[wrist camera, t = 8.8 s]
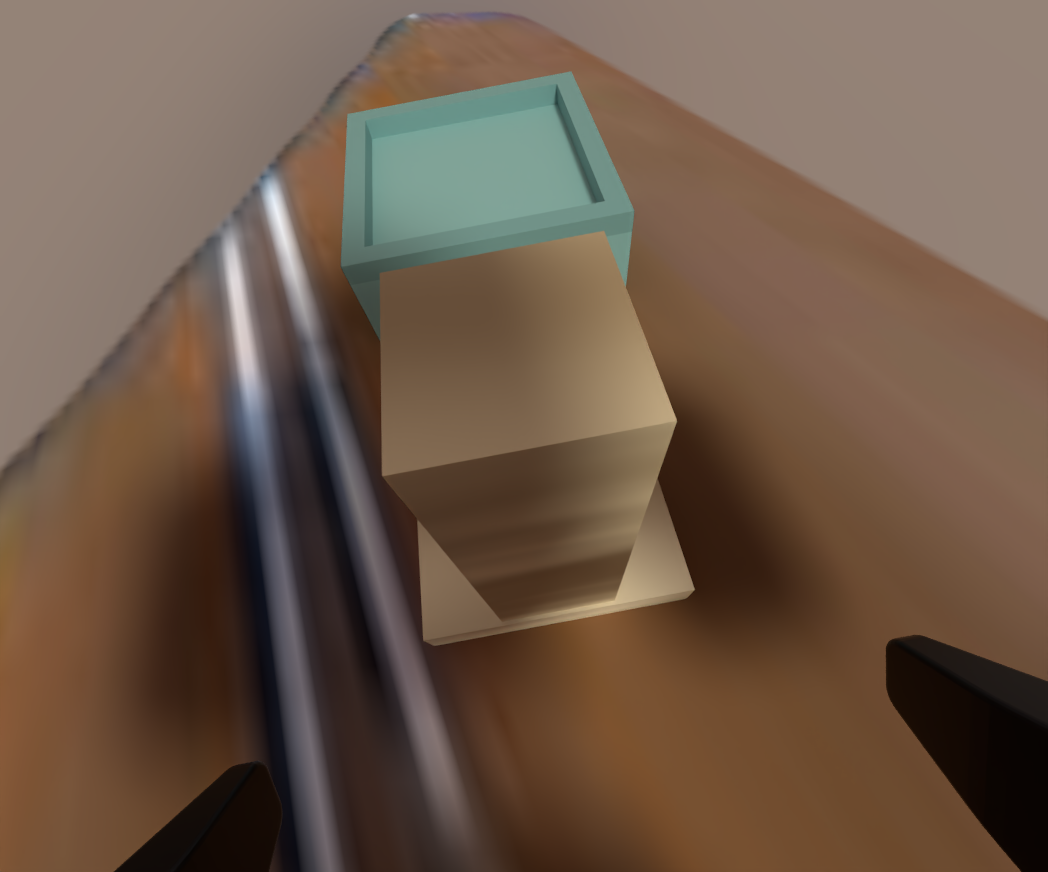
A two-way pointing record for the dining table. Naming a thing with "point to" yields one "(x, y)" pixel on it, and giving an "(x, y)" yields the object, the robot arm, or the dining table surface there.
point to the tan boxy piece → (526, 439)
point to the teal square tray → (475, 180)
